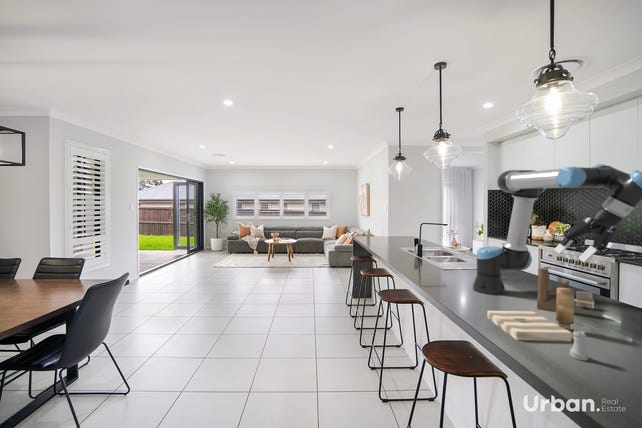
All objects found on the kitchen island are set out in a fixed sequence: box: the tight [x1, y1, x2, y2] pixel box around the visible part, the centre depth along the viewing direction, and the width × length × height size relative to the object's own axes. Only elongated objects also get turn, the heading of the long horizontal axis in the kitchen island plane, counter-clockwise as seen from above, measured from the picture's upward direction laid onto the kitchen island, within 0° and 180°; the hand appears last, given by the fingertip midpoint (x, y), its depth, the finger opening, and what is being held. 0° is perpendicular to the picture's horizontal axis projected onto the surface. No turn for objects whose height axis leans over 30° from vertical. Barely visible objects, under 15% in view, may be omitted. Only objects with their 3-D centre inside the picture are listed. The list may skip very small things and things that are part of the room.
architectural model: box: [574, 290, 595, 310], centre depth 134 cm, size 3×7×7 cm, turn 60°
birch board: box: [486, 310, 573, 342], centre depth 112 cm, size 20×18×3 cm
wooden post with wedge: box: [536, 267, 570, 312], centre depth 132 cm, size 4×11×18 cm, turn 55°
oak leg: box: [555, 288, 575, 331], centre depth 111 cm, size 5×5×15 cm
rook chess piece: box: [569, 329, 590, 362], centre depth 91 cm, size 4×4×8 cm
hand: (569, 256), depth 118 cm, fingers open, 13 cm apart
